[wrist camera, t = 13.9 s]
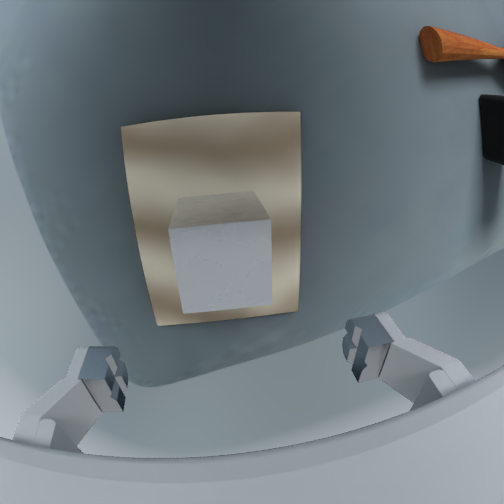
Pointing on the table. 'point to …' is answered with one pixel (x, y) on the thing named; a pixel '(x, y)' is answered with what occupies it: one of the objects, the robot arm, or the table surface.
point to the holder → (215, 182)
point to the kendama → (455, 46)
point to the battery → (493, 127)
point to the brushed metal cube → (221, 252)
